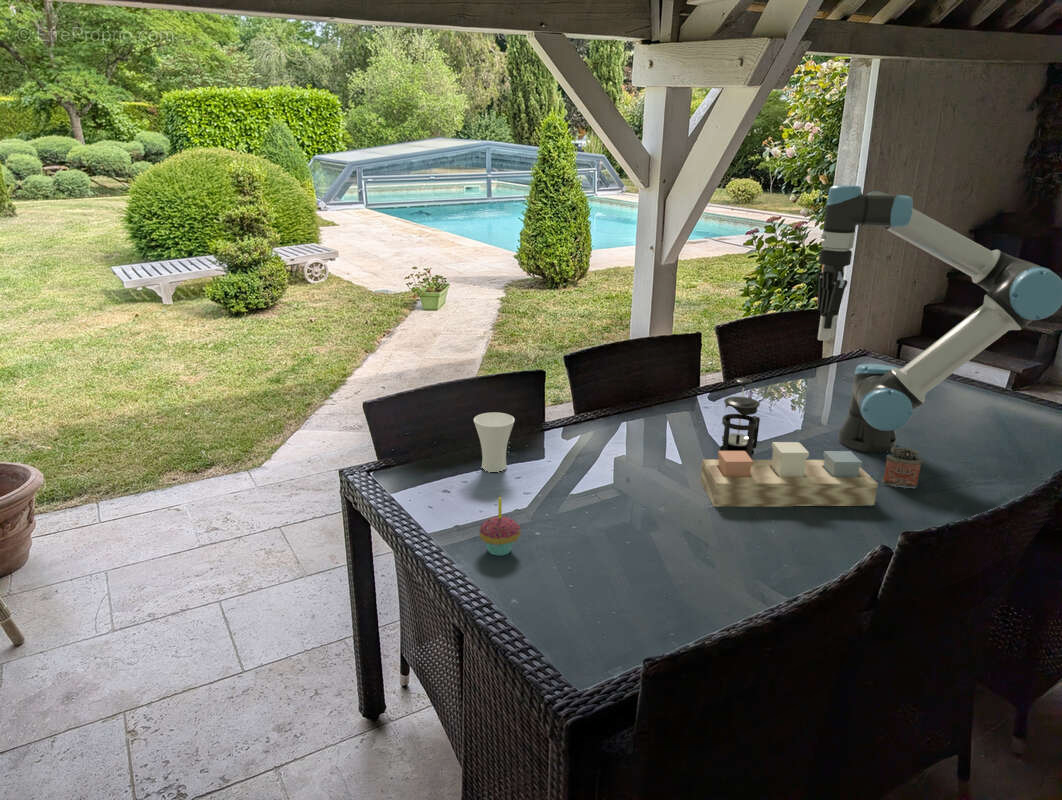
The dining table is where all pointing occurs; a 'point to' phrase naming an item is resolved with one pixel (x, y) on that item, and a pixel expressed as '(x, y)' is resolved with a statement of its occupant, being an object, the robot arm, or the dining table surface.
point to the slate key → (841, 463)
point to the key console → (786, 487)
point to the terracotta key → (734, 463)
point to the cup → (494, 439)
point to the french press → (738, 440)
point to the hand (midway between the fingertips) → (823, 339)
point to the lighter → (902, 467)
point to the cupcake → (499, 533)
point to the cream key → (789, 459)
